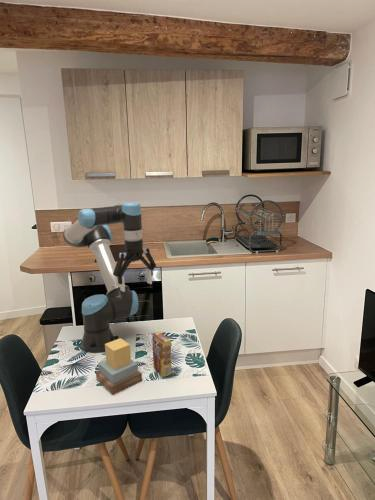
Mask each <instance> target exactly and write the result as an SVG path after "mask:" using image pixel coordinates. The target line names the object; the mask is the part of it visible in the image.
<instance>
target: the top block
mask: <svg viewBox="0 0 375 500" xmlns="http://www.w3.org/2000/svg"><path fill="white" fill-rule="evenodd" d="M98 371H99V372H100V373H101V374H102V375H103V376H104V377H105V378H106V379H107V380H109V381H110V382H111V383H112V384H115V383H117V382H120V381H122V380H124V379H126V378H128V377H130V376H132V375H135V374H137V373H138V371H139V367H138V363H137V362H136V361H134V360H133V359H132V358H131V363H130V364H128V365H126V366H123V367H121V368H119V369H116V370H115V369H113V368H112V367H111V366H110V365H109V364H108V363H106V359H104V360H102V361H100V362H98Z"/></svg>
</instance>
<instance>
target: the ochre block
mask: <svg viewBox="0 0 375 500" xmlns="http://www.w3.org/2000/svg"><path fill="white" fill-rule="evenodd" d="M104 352H105V360H106V363H108V364H109V365H110V366H111V367H112V368H113V369H115V370H116V369H119V368H121V367H123V366H126V365H128V364H130V363H131V359H132V358H131V345H130V343H129V342H127V341H125V340H124V339H123V338H117V339H114V341H112V342H109V343H106V344H105V351H104Z"/></svg>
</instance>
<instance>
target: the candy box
mask: <svg viewBox="0 0 375 500" xmlns="http://www.w3.org/2000/svg"><path fill="white" fill-rule="evenodd" d="M151 335H152V338H151V339H152V342H151V343H152V364H153V369H154V370H155V371H156V372H157V373H158V374H159V375H160V376H161V377H162V378H166V377H168V376H171V375H172V346H171V345H172V339H170V338H169V337H167V336H166V335H165V334H164V333H163V332H161V331H159V332H155V333H152V334H151Z"/></svg>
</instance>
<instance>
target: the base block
mask: <svg viewBox="0 0 375 500" xmlns="http://www.w3.org/2000/svg"><path fill="white" fill-rule="evenodd" d="M95 376H96V377H95V378H96V381H97V382H98V383H99V384H100V385H102V386H103V387H104V388H105V389H106V390H107V391H108V392H109V393H110V394H111V395H112V396H114V395H116V394H118V393H119V392H122V391H124V390H126V389H128V388H131V387H132V386H135V385H136V384H138V383H140V382H142V381H143V373H142V372H141V371H140V370H138V373H137V374H135V375H132V376H130V377H128V378H126V379H124V380H122V381H120V382H117V383H115V384H112V383H111V382H110V381H109V380H107V379H106V378H105V377H104V376H103V375H102V374H101V373H100V372H99V370H97V371H95Z"/></svg>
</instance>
